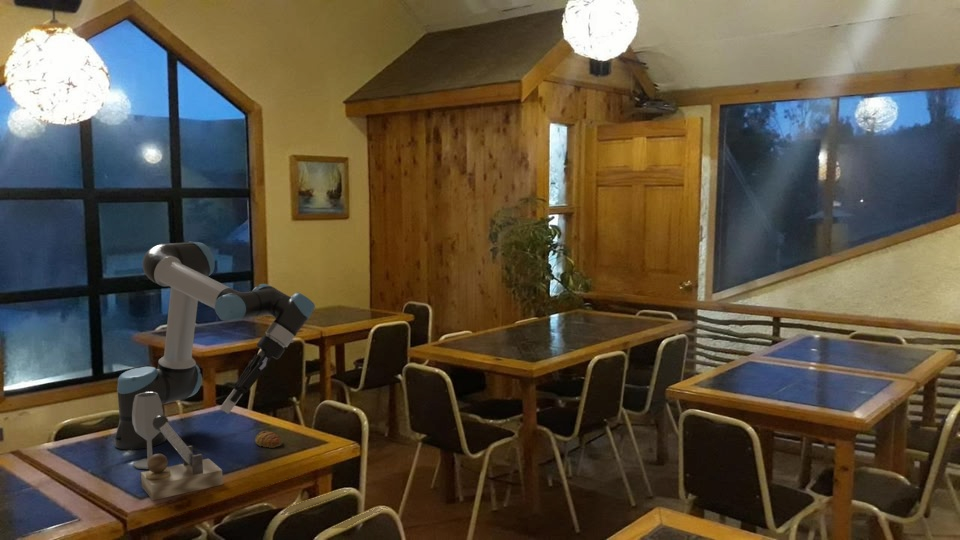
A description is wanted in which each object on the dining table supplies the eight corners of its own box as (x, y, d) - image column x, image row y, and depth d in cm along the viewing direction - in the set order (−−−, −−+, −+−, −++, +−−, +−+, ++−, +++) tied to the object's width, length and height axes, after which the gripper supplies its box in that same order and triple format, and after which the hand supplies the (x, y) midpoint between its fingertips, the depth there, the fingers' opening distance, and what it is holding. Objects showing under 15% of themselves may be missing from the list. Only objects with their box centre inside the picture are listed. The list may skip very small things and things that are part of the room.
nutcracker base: (152, 500, 197) (150, 462, 197) (141, 486, 207) (139, 450, 206) (222, 484, 208) (221, 448, 207) (209, 472, 218) (207, 437, 217)
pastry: (288, 445, 242) (287, 433, 241) (269, 451, 237) (269, 439, 236) (270, 439, 248) (270, 428, 247) (252, 445, 243) (251, 433, 242)
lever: (192, 473, 205) (152, 425, 199) (185, 465, 211) (146, 419, 204) (204, 462, 207) (165, 415, 200) (197, 455, 213) (159, 409, 206)
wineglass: (146, 471, 219) (142, 399, 217) (127, 466, 223) (123, 395, 221) (172, 462, 226) (169, 393, 224) (154, 458, 231) (150, 389, 229)
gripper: (291, 350, 217) (239, 421, 210) (280, 347, 229) (231, 414, 222) (269, 335, 214) (216, 406, 207) (259, 332, 226) (209, 400, 219)
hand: (224, 410), depth 214 cm, fingers closed
